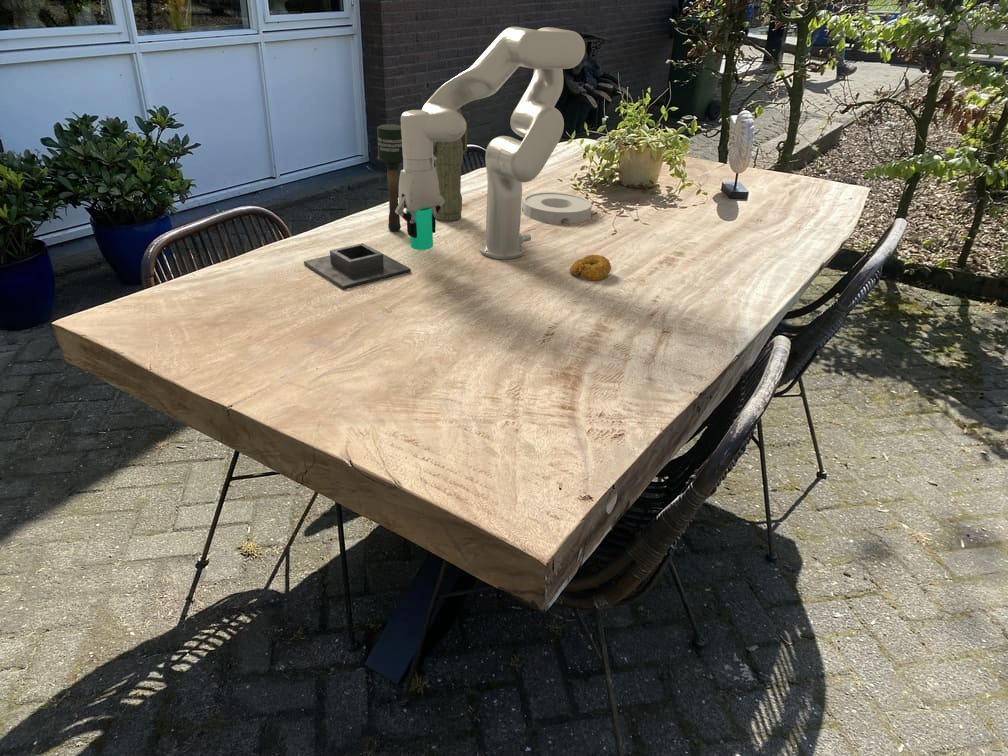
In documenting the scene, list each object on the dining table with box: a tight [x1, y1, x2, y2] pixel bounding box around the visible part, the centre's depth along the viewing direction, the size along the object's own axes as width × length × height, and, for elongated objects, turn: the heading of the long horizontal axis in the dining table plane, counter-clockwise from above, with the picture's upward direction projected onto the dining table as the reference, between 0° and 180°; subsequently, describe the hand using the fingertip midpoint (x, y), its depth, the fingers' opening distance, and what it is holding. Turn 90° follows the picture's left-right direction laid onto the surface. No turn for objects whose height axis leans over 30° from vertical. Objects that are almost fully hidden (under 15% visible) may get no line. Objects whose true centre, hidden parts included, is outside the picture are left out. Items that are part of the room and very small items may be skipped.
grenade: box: [376, 123, 403, 233], centre depth 204 cm, size 8×9×30 cm
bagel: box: [569, 254, 612, 282], centre depth 188 cm, size 10×11×5 cm
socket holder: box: [303, 242, 412, 291], centre depth 184 cm, size 20×20×4 cm
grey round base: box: [521, 191, 593, 224], centre depth 235 cm, size 23×23×4 cm
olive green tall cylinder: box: [433, 107, 468, 223], centre depth 216 cm, size 9×12×35 cm
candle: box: [409, 208, 434, 251], centre depth 182 cm, size 6×6×12 cm
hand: (421, 233), depth 184 cm, fingers closed on candle, 5 cm apart
